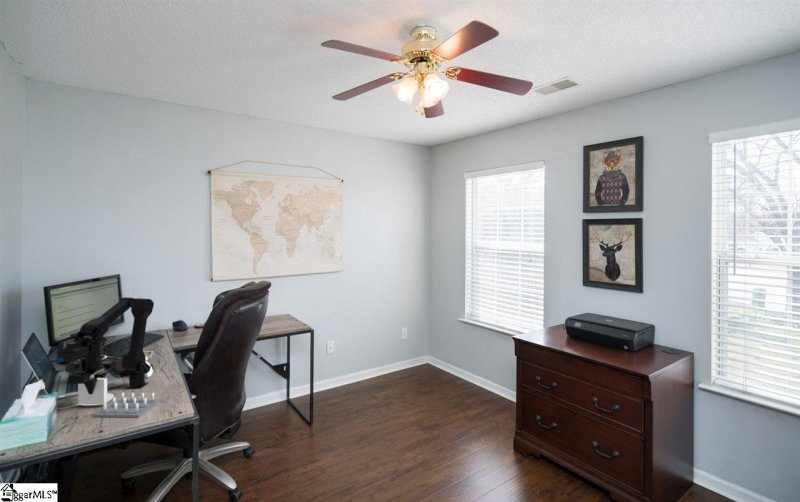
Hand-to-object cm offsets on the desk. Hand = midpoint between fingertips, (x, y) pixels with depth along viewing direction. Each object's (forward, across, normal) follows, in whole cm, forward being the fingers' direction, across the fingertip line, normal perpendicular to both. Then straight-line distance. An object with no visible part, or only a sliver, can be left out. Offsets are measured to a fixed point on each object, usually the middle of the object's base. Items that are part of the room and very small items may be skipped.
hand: (92, 393), depth 157 cm
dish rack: (+5, +2, +16) cm, 17 cm away
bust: (+5, -34, -1) cm, 35 cm away
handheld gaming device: (+6, -67, -21) cm, 70 cm away
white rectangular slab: (+4, 0, 0) cm, 4 cm away
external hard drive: (+6, -44, -15) cm, 47 cm away
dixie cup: (+5, -27, -18) cm, 33 cm away
